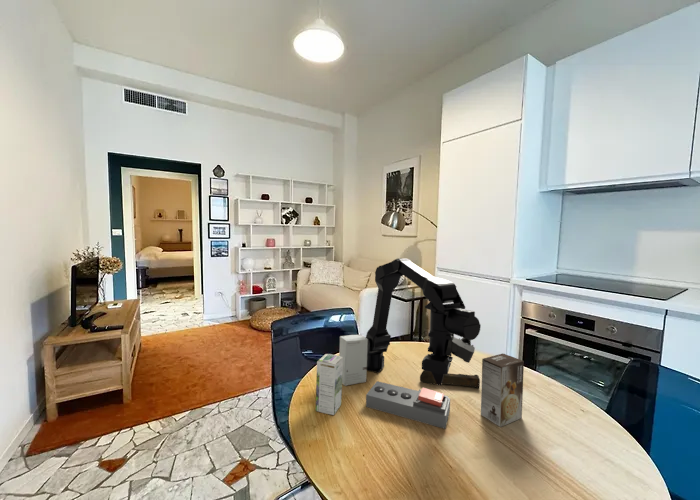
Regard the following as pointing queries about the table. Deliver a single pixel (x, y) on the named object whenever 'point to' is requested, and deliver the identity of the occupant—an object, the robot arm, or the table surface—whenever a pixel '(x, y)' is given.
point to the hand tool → (452, 379)
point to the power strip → (407, 404)
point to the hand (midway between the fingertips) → (439, 384)
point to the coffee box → (502, 389)
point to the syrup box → (329, 384)
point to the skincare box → (353, 358)
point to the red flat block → (431, 397)
